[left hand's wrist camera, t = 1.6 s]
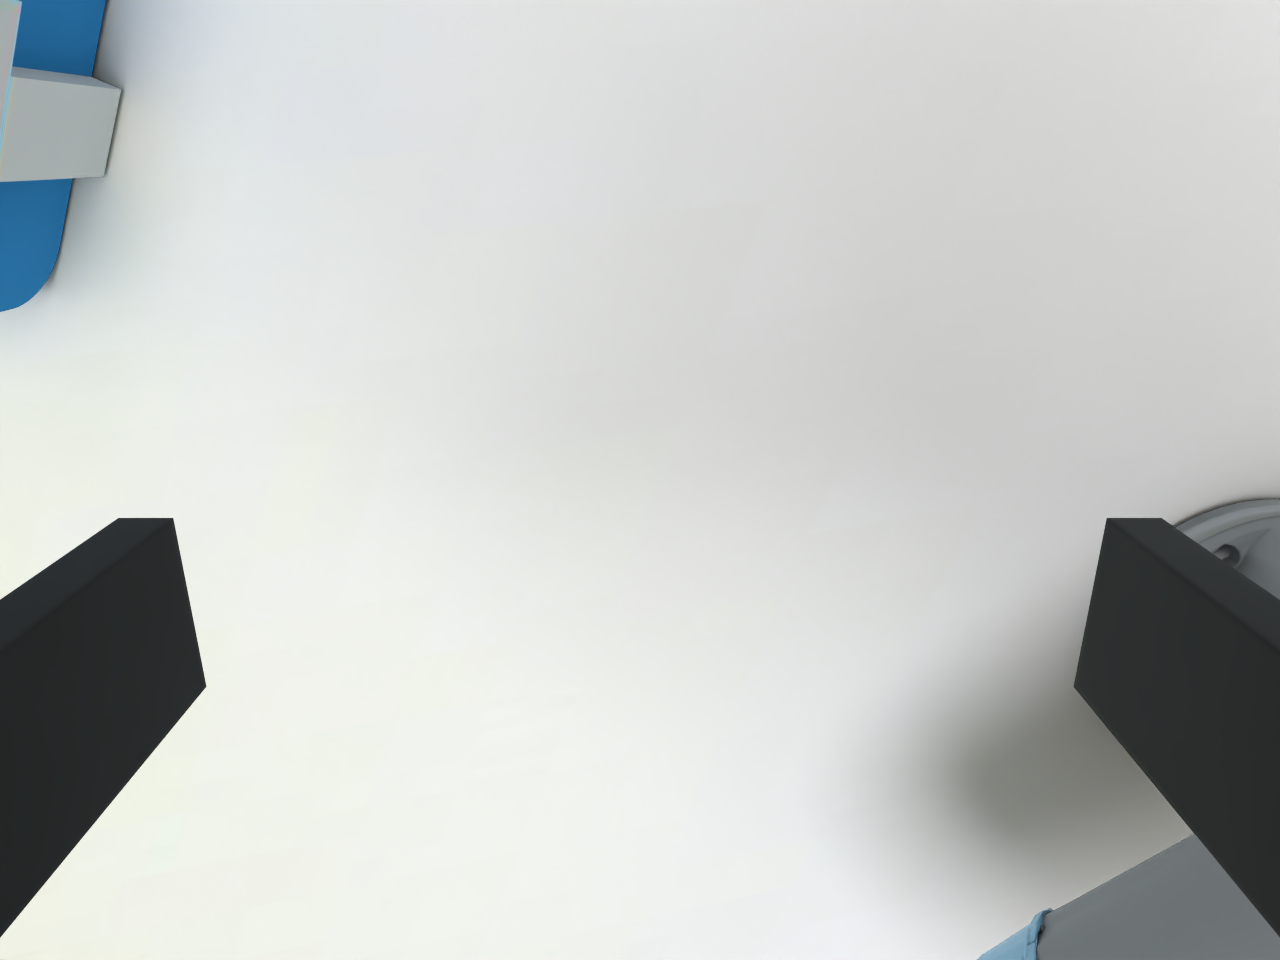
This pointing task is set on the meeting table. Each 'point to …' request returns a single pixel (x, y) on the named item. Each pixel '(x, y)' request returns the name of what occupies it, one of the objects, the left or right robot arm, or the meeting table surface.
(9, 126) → the logo
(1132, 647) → the left robot arm
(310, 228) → the meeting table surface
